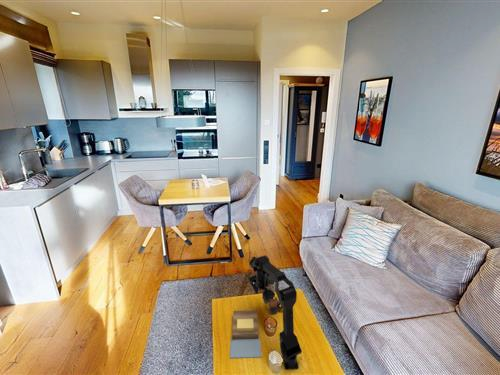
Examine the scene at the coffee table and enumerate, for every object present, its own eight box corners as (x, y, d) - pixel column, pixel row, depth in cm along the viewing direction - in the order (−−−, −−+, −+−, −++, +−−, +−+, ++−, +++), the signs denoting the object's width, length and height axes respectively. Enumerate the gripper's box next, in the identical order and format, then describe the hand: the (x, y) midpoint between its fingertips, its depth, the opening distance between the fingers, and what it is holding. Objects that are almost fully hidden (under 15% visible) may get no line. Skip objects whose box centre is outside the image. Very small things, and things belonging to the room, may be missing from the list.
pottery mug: (263, 314, 148) (262, 299, 150) (268, 309, 157) (267, 296, 159) (282, 315, 144) (280, 300, 145) (286, 310, 152) (285, 296, 154)
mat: (261, 357, 122) (261, 356, 122) (229, 358, 122) (229, 357, 122) (260, 339, 132) (260, 338, 132) (230, 340, 131) (230, 339, 131)
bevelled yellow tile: (253, 330, 132) (253, 327, 132) (237, 331, 132) (236, 328, 132) (253, 321, 138) (253, 318, 137) (237, 321, 138) (237, 319, 137)
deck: (258, 339, 132) (258, 333, 130) (232, 340, 131) (232, 334, 130) (256, 315, 147) (256, 310, 146) (233, 316, 147) (233, 310, 145)
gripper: (283, 280, 133) (282, 303, 138) (263, 263, 148) (263, 284, 153) (266, 288, 128) (266, 311, 133) (248, 269, 143) (248, 290, 148)
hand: (261, 298), depth 142 cm, fingers open, 9 cm apart
